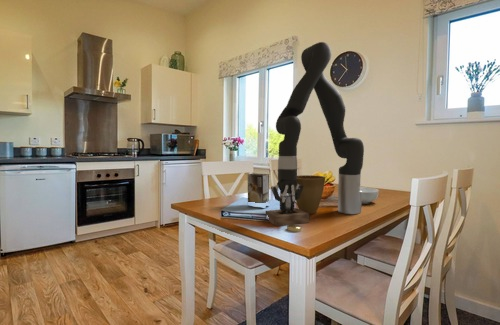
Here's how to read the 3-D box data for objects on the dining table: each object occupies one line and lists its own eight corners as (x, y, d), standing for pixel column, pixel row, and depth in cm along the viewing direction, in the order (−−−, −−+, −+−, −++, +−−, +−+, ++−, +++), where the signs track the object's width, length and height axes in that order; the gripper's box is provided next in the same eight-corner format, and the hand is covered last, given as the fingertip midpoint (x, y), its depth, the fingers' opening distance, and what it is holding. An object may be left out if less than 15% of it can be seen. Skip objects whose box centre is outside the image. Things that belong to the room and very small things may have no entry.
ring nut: (296, 227, 101) (296, 223, 101) (304, 231, 96) (304, 227, 96) (284, 229, 99) (284, 225, 99) (291, 233, 94) (291, 229, 94)
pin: (288, 212, 111) (288, 195, 110) (292, 214, 108) (292, 196, 107) (281, 212, 110) (281, 195, 109) (285, 214, 107) (285, 197, 106)
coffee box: (269, 206, 134) (270, 174, 133) (263, 209, 129) (263, 175, 128) (254, 204, 139) (254, 172, 138) (247, 206, 134) (247, 174, 133)
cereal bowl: (346, 198, 156) (346, 185, 156) (378, 200, 149) (378, 187, 148) (342, 203, 141) (342, 190, 141) (377, 207, 134) (378, 192, 133)
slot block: (295, 216, 116) (295, 208, 116) (309, 222, 107) (309, 213, 107) (265, 219, 111) (265, 210, 111) (276, 226, 102) (276, 217, 102)
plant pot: (325, 209, 129) (326, 175, 128) (323, 217, 115) (324, 179, 114) (293, 207, 133) (294, 174, 132) (288, 214, 119) (288, 177, 118)
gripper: (298, 166, 114) (297, 207, 115) (267, 167, 109) (266, 210, 110) (308, 167, 107) (307, 211, 108) (275, 168, 102) (275, 214, 103)
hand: (287, 210), depth 109 cm, fingers closed on pin, 3 cm apart
